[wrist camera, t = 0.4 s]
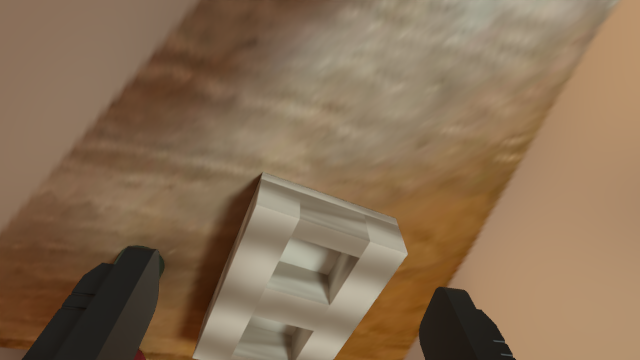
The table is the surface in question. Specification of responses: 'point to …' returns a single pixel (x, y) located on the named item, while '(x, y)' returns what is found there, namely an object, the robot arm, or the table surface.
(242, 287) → the hole board
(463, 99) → the table surface
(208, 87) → the table surface
